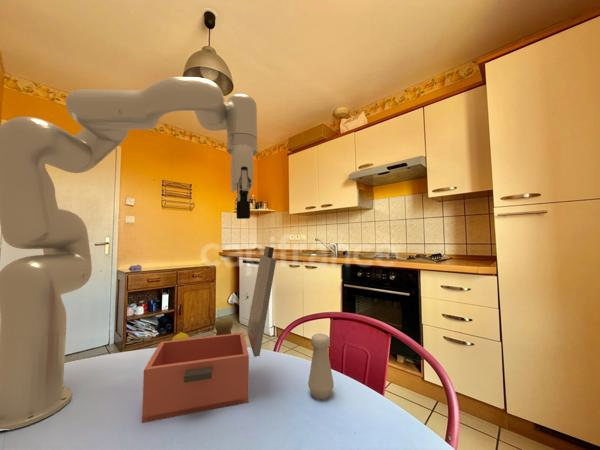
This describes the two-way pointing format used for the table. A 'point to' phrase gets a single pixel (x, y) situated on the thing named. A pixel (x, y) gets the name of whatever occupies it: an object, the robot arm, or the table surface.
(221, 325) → the cork
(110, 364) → the table surface
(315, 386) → the salt shaker
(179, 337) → the lemon
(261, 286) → the grey box lid
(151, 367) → the orange wooden open box
